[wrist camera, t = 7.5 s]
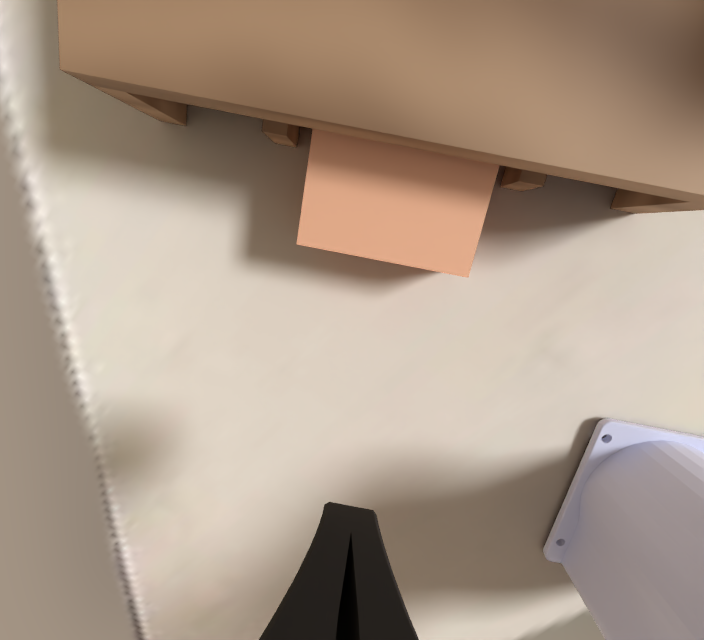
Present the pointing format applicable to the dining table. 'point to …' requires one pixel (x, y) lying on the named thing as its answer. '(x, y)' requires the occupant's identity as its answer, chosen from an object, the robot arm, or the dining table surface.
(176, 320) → the dining table surface
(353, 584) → the robot arm
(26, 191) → the dining table surface
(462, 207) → the cover
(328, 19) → the wooden stand
